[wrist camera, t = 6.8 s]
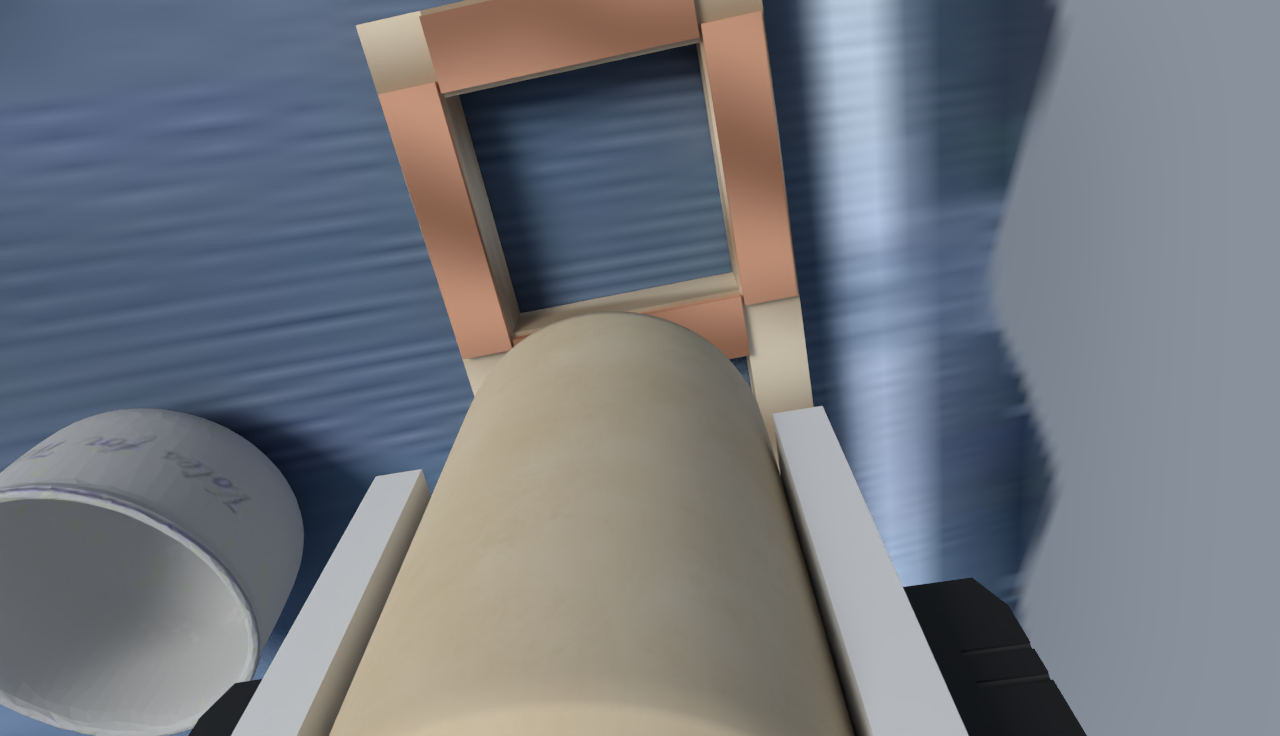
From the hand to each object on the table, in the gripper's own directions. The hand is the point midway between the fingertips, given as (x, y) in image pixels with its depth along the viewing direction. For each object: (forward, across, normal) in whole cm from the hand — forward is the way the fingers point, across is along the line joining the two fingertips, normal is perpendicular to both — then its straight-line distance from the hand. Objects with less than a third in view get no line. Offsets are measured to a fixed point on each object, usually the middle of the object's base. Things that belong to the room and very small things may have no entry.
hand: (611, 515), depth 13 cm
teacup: (+17, +21, +7) cm, 28 cm away
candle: (+3, 0, 0) cm, 3 cm away
